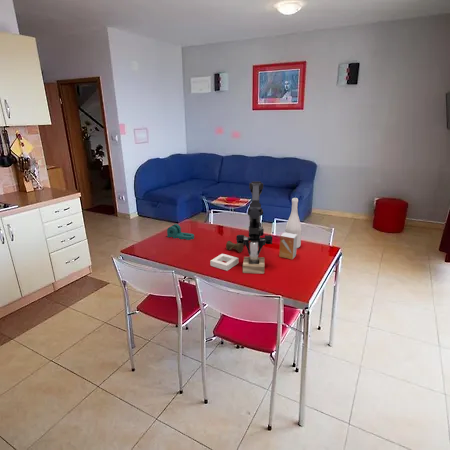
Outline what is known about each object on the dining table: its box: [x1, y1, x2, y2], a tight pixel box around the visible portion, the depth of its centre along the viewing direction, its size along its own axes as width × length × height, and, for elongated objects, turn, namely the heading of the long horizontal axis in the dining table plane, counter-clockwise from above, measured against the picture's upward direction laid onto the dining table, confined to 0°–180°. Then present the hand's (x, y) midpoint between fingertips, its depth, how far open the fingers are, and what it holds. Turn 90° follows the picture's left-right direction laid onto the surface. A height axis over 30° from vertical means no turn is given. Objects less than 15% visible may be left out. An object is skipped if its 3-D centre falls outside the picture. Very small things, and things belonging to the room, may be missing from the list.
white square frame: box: [209, 253, 240, 272], centre depth 172 cm, size 11×11×3 cm
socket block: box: [242, 256, 265, 275], centre depth 166 cm, size 11×11×4 cm
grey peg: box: [249, 241, 259, 264], centre depth 164 cm, size 4×4×13 cm
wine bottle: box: [284, 197, 302, 249], centre depth 189 cm, size 10×10×30 cm
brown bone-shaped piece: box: [225, 235, 247, 254], centre depth 191 cm, size 6×10×20 cm
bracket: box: [166, 223, 195, 241], centre depth 211 cm, size 18×7×8 cm, turn 68°
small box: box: [278, 231, 298, 260], centre depth 178 cm, size 8×6×13 cm
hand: (253, 254), depth 163 cm, fingers closed on grey peg, 4 cm apart
